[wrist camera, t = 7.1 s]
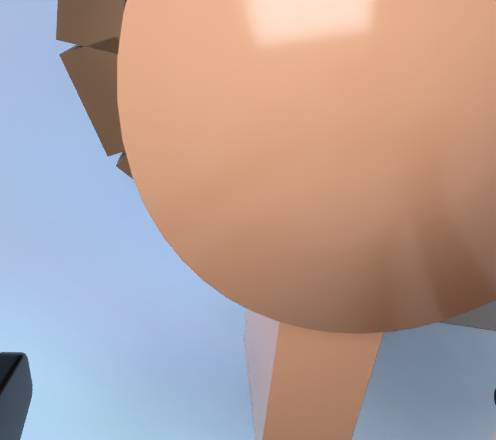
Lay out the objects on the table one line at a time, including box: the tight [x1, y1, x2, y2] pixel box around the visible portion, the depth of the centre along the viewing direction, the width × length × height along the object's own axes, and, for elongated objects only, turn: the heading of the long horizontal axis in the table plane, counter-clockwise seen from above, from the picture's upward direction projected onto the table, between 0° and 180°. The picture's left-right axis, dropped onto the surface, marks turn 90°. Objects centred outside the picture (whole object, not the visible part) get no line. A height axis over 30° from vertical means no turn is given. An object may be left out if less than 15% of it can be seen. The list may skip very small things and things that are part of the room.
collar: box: [56, 0, 133, 179], centre depth 12 cm, size 12×12×2 cm
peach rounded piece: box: [117, 0, 496, 440], centre depth 10 cm, size 12×7×9 cm, turn 176°
